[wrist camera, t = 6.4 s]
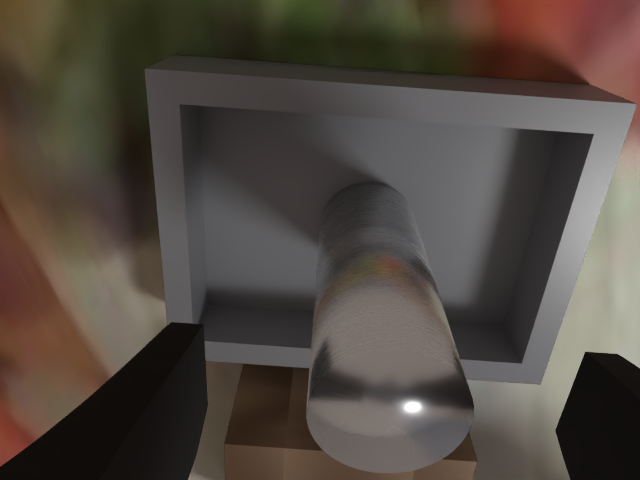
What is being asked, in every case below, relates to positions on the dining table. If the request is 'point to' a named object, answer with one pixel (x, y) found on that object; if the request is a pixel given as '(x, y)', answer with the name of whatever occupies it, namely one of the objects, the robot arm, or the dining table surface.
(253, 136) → the tray
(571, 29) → the dining table surface
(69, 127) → the dining table surface
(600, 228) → the dining table surface
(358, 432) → the pin
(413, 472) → the holder
